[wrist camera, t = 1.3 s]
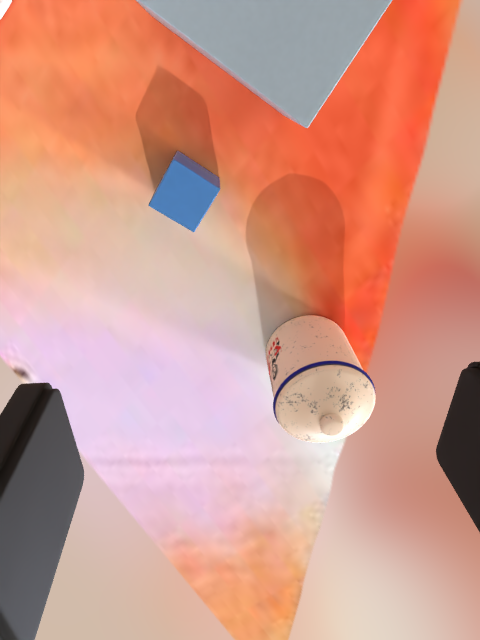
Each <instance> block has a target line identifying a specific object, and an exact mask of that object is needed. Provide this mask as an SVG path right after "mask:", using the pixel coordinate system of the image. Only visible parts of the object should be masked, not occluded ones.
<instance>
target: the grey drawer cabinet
mask: <svg viewBox="0 0 480 640" xmlns="http://www.w3.org/2000/svg"><path fill="white" fill-rule="evenodd" d="M136 1H137V2H138V3H139V4H140V5H141V6H142V7H143V8H144V9H145V10H146V11H147V12H148V13H149V14H150V15H151V16H152V17H154V18H155V19H156V20H158V21H159V22H160V23H162V24H163V25H164V26H166V27H167V28H168V29H170V30H171V31H172V32H174V33H175V34H176V35H178V36H179V37H180V38H182V39H183V40H184V41H186V42H187V43H188V44H190V45H191V46H192V47H194V48H195V49H196V50H197V51H199V52H200V53H201V54H203V55H204V56H205V57H207V58H208V59H209V60H211V61H212V62H213V63H215V64H216V65H217V66H219V67H220V68H221V69H223V70H224V71H225V72H227V73H228V74H229V75H231V76H232V77H233V78H235V79H236V80H237V81H239V82H240V83H241V84H243V85H244V86H245V87H247V88H248V89H249V90H251V91H252V92H253V93H255V94H256V95H257V96H259V97H260V98H261V99H262V100H264V101H265V102H266V103H268V104H269V105H270V106H272V107H273V108H274V109H276V110H277V111H278V112H280V113H281V114H282V115H284V116H286V117H287V118H289V119H291V120H293V121H295V122H296V123H298V124H300V125H302V126H304V127H305V128H308V127H309V125H310V124H311V122H312V121H313V119H314V118H315V116H316V115H317V113H318V112H319V110H320V109H321V107H322V105H323V104H324V102H325V101H326V99H327V98H328V96H329V95H330V93H331V92H332V90H333V89H334V87H335V86H336V84H337V83H338V81H339V80H340V78H341V77H342V75H343V74H344V72H345V71H346V69H347V68H348V66H349V65H350V63H351V62H352V60H353V59H354V57H355V56H356V54H357V53H358V51H359V50H360V48H361V47H362V45H363V44H364V42H365V41H366V39H367V38H368V36H369V35H370V33H371V32H372V30H373V29H374V27H375V26H376V24H377V23H378V21H379V20H380V18H381V16H382V15H383V13H384V12H385V10H386V9H387V7H388V6H389V4H390V3H391V1H392V0H136Z"/></svg>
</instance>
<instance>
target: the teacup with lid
mask: <svg viewBox="0 0 480 640" xmlns="http://www.w3.org/2000/svg"><path fill="white" fill-rule="evenodd" d="M266 360H267V365H268V370H269V375H270V380H271V385H272V391H273V396H274V402H273V409H274V414H275V417H276V419H277V421H278V423H279V424H280V425H281V427H282V428H283V429H284V430H285V431H286V432H287V433H289V434H290V435H291V436H293V437H295V438H297V439H300V440H303V441H307V442H314V443H324V442H331V441H335V440H339V439H342V438H344V437H346V436H348V435H350V434H352V433H354V432H355V431H357V430H358V429H359V428H360V427H361V426H362V425H363V424H364V423H365V422H366V421H367V419H368V418H369V417H370V415H371V413H372V411H373V408H374V404H375V388H374V384H373V382H372V380H371V379H370V377H369V376H368V375H367V373H366V372H364V371H363V369H362V367H361V365H360V363H359V361H358V359H357V357H356V355H355V353H354V351H353V349H352V347H351V345H350V344H349V342H348V340H347V338H346V336H345V334H344V332H343V330H342V329H341V328H340V327H339V326H338V325H337V324H336V323H335V322H333V321H332V320H330V319H327V318H325V317H321V316H315V315H307V316H300V317H297V318H294V319H291V320H289V321H287V322H285V323H284V324H282V325H281V326H280V327H279V328H277V329H276V330H275V332H274V333H273V334H272V336H271V337H270V339H269V341H268V344H267V347H266Z"/></svg>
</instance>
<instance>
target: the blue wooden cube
mask: <svg viewBox="0 0 480 640" xmlns="http://www.w3.org/2000/svg"><path fill="white" fill-rule="evenodd" d="M219 191H220V180H219V177H218V176H216V175H214V174H213V173H211V172H210V171H208V170H207V169H205V168H204V167H202V166H201V165H199V164H198V163H196V162H195V161H193V160H191V159H190V158H188V157H187V156H185V155H184V154H182V153H181V152H179V151H177V152H176V154H175V155H174V157H173V159H172V161H171V163H170V165H169V167H168V168H167V170H166V172H165V174H164V176H163V178H162V180H161V181H160V183H159V185H158V187H157V189H156V191H155V193H154V195H153V197H152V199H151V201H150V203H149V206H150V207H152V208H153V209H155V210H157V211H159V212H160V213H162V214H164V215H165V216H167V217H169V218H170V219H172V220H174V221H176V222H177V223H179V224H181V225H182V226H184V227H186V228H187V229H189V230H191V231H192V232H195V230H196V228H197V227H198V225H199V223H200V222H201V220H202V219H203V217H204V215H205V214H206V212H207V210H208V209H209V207H210V205H211V204H212V202H213V201H214V199H215V197H216V196H217V194H218V192H219Z"/></svg>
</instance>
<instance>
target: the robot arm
mask: <svg viewBox="0 0 480 640" xmlns="http://www.w3.org/2000/svg"><path fill="white" fill-rule="evenodd" d="M11 2H12V0H0V19H1V18H2V17H3V15H4V14H5V12H6V11H7V9H8V8H9V6H10V4H11ZM436 454H437V459H438V462H439V464H440V466H441V467H442V469H443V471H444V472H445V474H446V476H447V477H448V479H449V481H450V483H451V484H452V486H453V488H454V489H455V491H456V493H457V494H458V496H459V498H460V500H461V501H462V503H463V505H464V506H465V508H466V510H467V511H468V513H469V515H470V517H471V518H472V520H473V522H474V523H475V525H476V527H477V528H478V530H479V532H480V362H473V363H470V364H469V365H468V367H467V368H466V369H464V370H462V372H461V374H460V377H459V380H458V384H457V387H456V390H455V393H454V396H453V399H452V402H451V405H450V408H449V411H448V414H447V417H446V420H445V423H444V427H443V430H442V432H441V436H440V439H439V442H438V445H437V449H436ZM83 480H84V469H83V465H82V462H81V459H80V455H79V452H78V449H77V446H76V442H75V439H74V436H73V433H72V429H71V426H70V423H69V419H68V416H67V413H66V410H65V406H64V403H63V400H62V396H61V393H60V391H59V390H58V389H52V386H51V385H50V384H49V383H31V384H21V385H19V386H18V388H17V389H16V390H15V392H14V394H13V395H12V397H11V399H10V400H9V402H8V403H7V405H6V407H5V408H4V410H3V412H2V413H1V415H0V640H34V639H35V636H36V633H37V630H38V627H39V624H40V621H41V617H42V614H43V611H44V607H45V604H46V601H47V598H48V595H49V592H50V588H51V585H52V582H53V579H54V575H55V572H56V569H57V566H58V563H59V559H60V556H61V553H62V549H63V546H64V543H65V540H66V537H67V534H68V530H69V527H70V524H71V521H72V518H73V514H74V511H75V508H76V505H77V501H78V498H79V495H80V492H81V489H82V485H83Z"/></svg>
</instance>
